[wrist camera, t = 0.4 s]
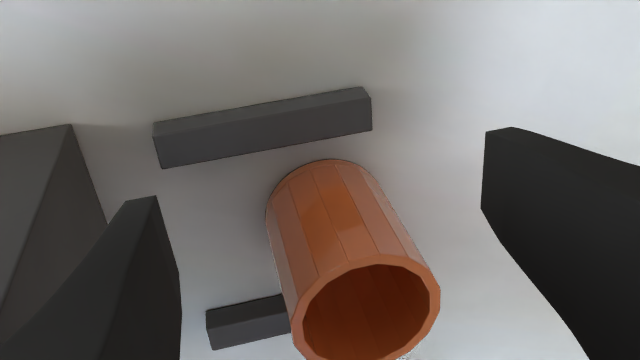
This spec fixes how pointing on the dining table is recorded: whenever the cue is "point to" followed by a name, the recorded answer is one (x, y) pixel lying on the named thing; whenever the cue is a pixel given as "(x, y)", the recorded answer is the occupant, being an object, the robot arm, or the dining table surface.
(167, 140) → the coffee maker
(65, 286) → the robot arm
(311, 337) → the cup
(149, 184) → the dining table surface
